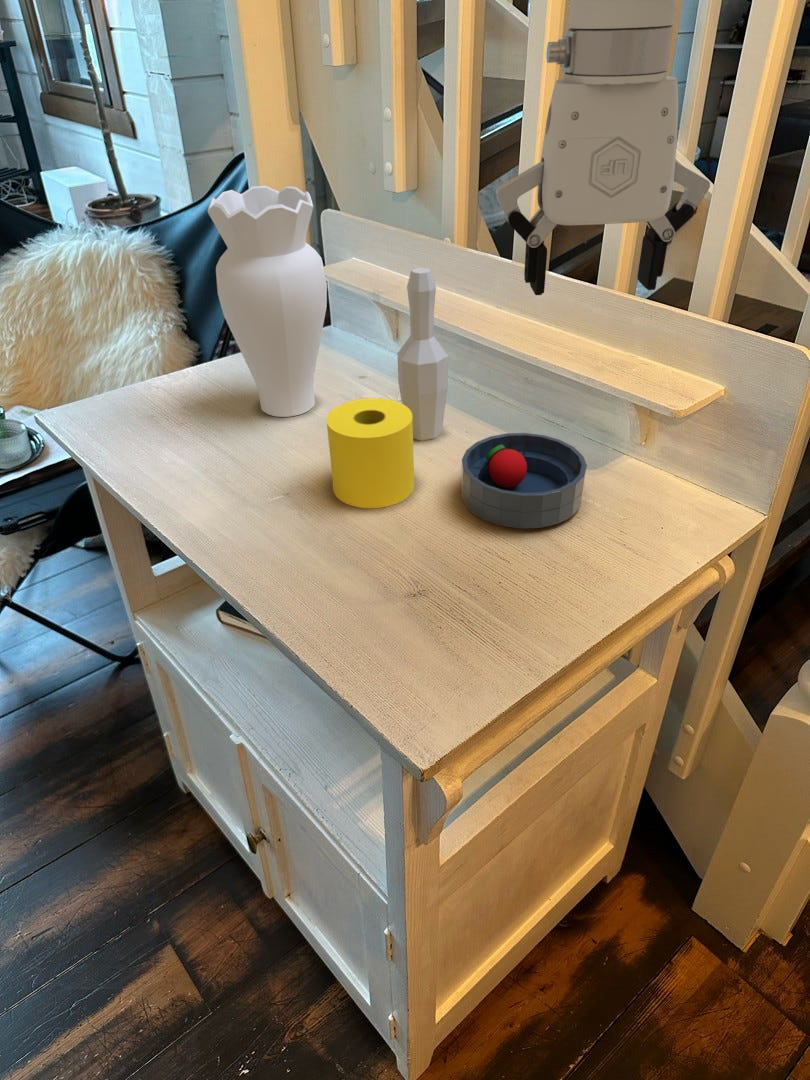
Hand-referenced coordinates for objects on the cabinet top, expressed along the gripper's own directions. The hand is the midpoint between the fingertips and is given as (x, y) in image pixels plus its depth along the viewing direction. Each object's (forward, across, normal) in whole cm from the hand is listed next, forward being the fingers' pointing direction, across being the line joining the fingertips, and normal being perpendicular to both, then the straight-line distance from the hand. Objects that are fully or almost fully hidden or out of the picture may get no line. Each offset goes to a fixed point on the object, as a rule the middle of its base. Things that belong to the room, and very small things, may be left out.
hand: (591, 287), depth 66 cm
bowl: (+28, -3, +10) cm, 30 cm away
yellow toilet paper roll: (+28, -21, +14) cm, 37 cm away
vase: (+28, -33, +38) cm, 57 cm away
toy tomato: (+26, -3, +10) cm, 28 cm away
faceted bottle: (+28, -14, +27) cm, 41 cm away
